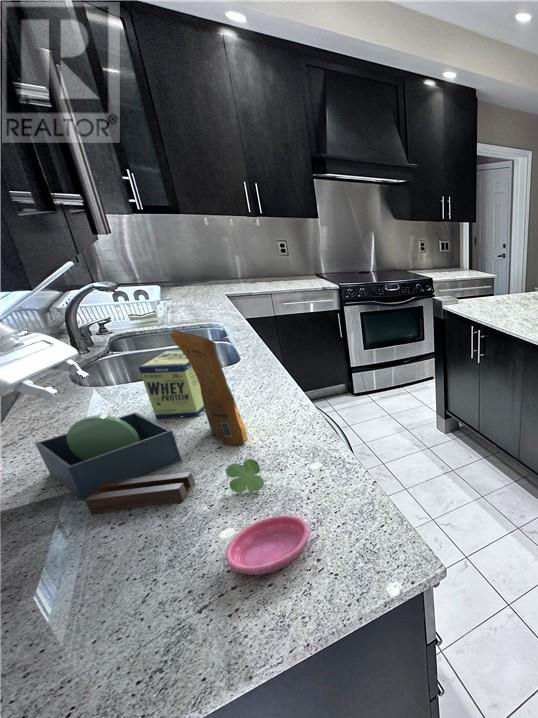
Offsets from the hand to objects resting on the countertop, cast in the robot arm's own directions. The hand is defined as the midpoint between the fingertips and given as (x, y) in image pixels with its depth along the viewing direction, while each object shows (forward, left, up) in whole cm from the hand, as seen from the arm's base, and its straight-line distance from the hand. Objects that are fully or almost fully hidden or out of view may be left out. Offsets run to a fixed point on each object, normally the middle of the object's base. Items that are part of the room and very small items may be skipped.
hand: (70, 387), depth 83 cm
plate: (+1, -1, -13) cm, 13 cm away
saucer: (+4, -54, -20) cm, 58 cm away
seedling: (+14, -33, -20) cm, 41 cm away
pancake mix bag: (+22, -7, -20) cm, 31 cm away
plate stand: (0, -19, -20) cm, 28 cm away
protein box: (+26, +19, -20) cm, 38 cm away
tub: (+2, -1, -20) cm, 20 cm away
